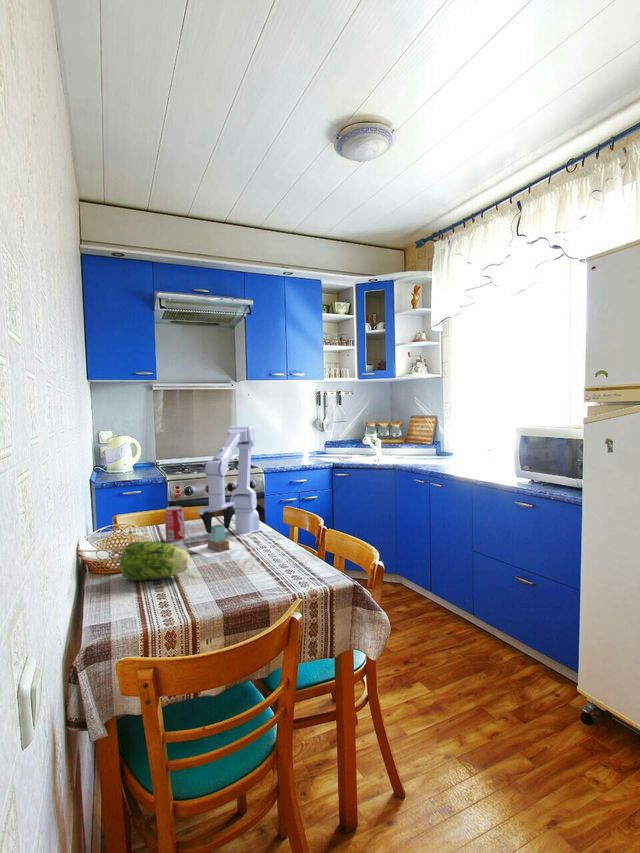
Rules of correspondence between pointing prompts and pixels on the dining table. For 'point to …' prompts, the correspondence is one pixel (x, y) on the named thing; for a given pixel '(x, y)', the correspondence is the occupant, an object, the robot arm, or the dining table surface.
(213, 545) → the base brick
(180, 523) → the soda can
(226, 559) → the dining table surface
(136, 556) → the lettuce
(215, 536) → the teal block
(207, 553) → the plate
